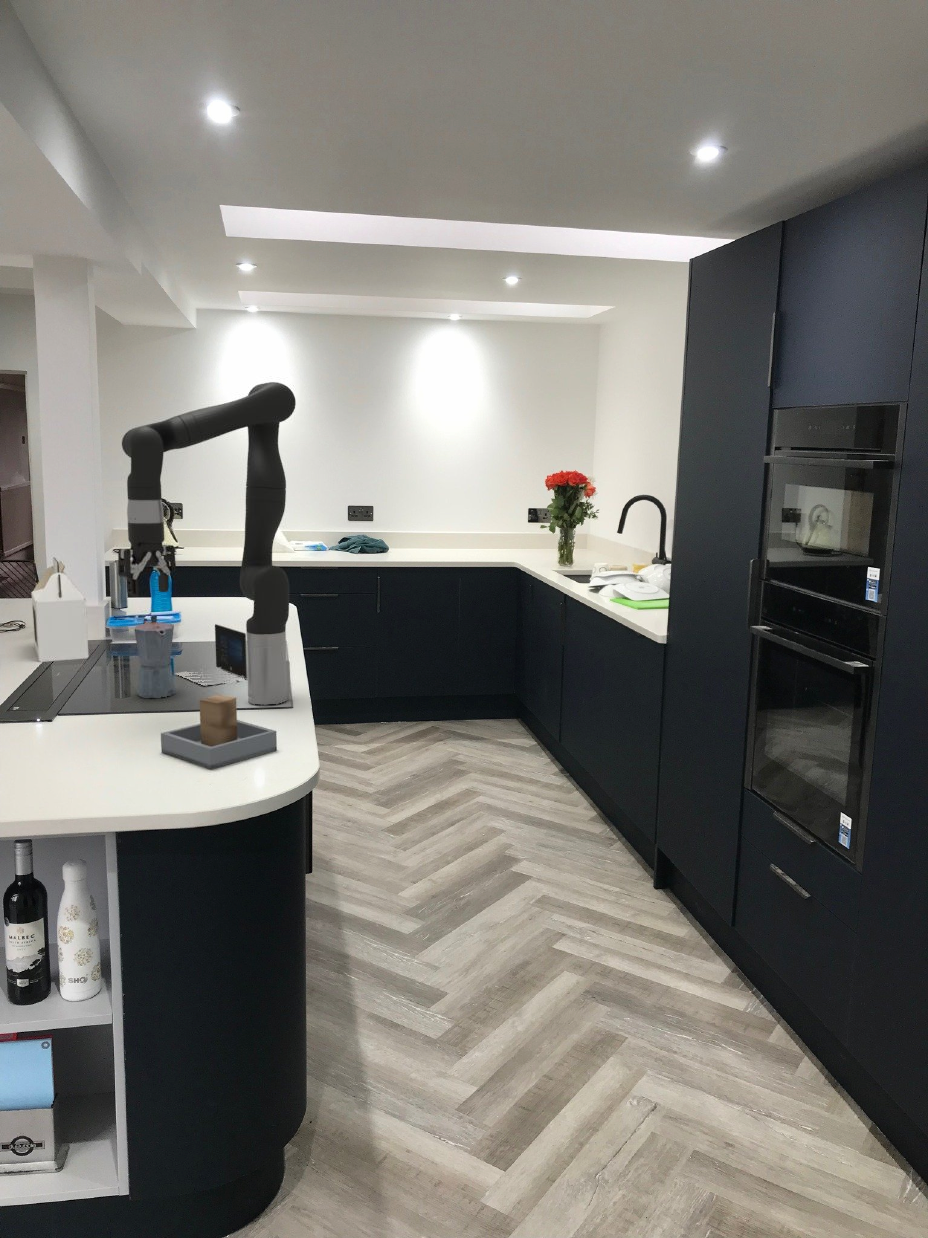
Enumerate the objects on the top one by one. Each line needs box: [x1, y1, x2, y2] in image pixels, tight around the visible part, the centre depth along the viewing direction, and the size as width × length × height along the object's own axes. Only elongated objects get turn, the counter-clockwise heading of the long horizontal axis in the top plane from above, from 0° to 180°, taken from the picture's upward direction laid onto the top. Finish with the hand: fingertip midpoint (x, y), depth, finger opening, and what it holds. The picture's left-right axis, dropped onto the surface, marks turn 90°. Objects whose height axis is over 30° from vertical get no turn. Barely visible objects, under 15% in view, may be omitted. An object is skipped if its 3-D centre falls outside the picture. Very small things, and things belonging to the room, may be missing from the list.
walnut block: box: [199, 694, 238, 747], centre depth 189 cm, size 5×5×10 cm
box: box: [160, 719, 278, 770], centre depth 189 cm, size 16×16×4 cm
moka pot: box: [133, 615, 176, 699], centre depth 233 cm, size 10×15×20 cm, turn 39°
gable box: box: [30, 557, 89, 663], centre depth 279 cm, size 22×13×28 cm, turn 27°
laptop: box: [174, 623, 248, 686], centre depth 252 cm, size 18×12×13 cm
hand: (148, 593), depth 210 cm, fingers open, 8 cm apart
